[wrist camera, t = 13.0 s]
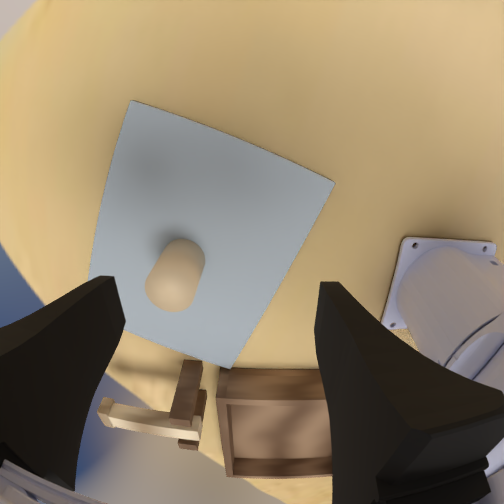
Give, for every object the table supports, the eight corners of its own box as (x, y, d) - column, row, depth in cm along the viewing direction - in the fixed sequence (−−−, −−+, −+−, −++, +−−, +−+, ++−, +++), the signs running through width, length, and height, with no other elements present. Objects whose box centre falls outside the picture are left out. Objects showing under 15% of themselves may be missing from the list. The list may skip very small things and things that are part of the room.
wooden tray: (376, 362, 26) (394, 417, 20) (335, 453, 34) (340, 494, 28) (184, 359, 26) (168, 418, 20) (204, 452, 34) (198, 493, 29)
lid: (332, 179, 19) (352, 203, 15) (231, 361, 27) (226, 405, 22) (136, 100, 17) (100, 101, 13) (89, 305, 25) (64, 341, 20)
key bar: (200, 412, 23) (197, 429, 21) (203, 425, 24) (200, 442, 22) (103, 397, 23) (96, 412, 21) (110, 410, 24) (104, 425, 22)
